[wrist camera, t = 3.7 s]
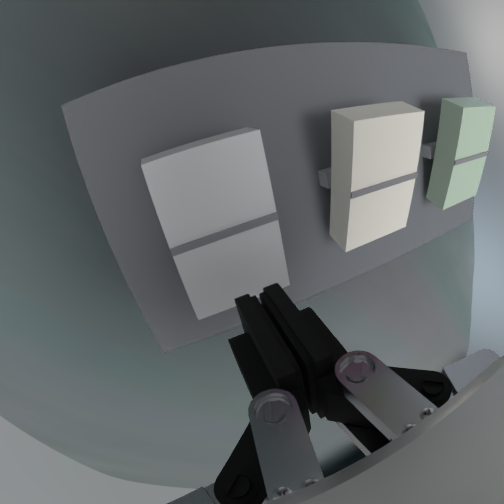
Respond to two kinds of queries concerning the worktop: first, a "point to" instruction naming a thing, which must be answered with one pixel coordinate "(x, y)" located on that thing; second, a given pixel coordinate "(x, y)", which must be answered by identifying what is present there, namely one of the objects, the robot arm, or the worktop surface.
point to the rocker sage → (460, 150)
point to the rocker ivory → (372, 170)
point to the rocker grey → (219, 217)
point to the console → (276, 152)
